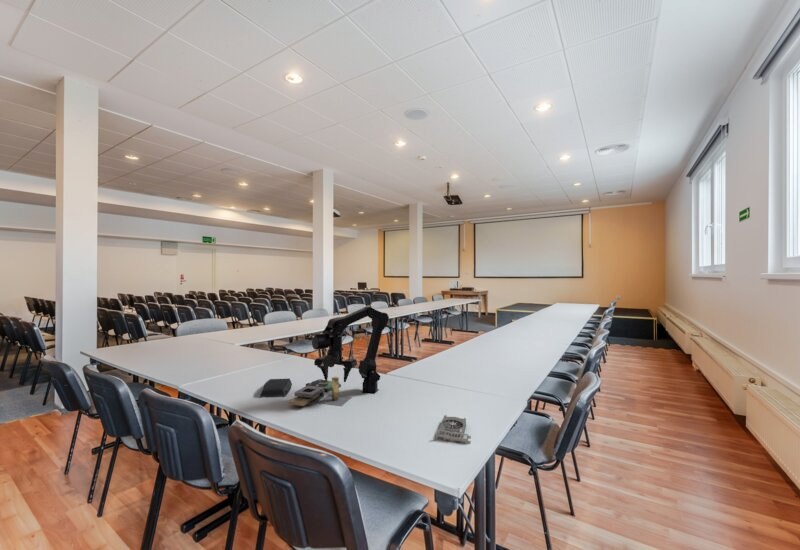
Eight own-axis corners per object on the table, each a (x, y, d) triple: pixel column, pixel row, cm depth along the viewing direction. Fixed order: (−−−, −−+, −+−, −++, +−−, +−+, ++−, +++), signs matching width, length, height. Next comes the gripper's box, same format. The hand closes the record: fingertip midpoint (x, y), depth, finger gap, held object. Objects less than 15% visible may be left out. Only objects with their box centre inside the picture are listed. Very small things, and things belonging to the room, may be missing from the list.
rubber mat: (352, 397, 160) (352, 396, 160) (341, 407, 148) (341, 406, 148) (329, 395, 163) (329, 394, 163) (316, 404, 151) (316, 403, 151)
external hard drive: (257, 398, 159) (257, 389, 159) (267, 385, 178) (267, 377, 178) (286, 397, 161) (286, 388, 161) (293, 384, 180) (293, 377, 180)
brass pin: (339, 399, 156) (339, 377, 156) (336, 401, 154) (336, 379, 154) (333, 398, 157) (333, 376, 157) (330, 400, 154) (330, 378, 154)
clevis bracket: (307, 396, 162) (307, 385, 162) (324, 397, 159) (324, 387, 159) (287, 408, 146) (287, 396, 146) (305, 410, 144) (305, 398, 144)
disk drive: (305, 389, 173) (327, 394, 165) (305, 384, 173) (327, 388, 165) (319, 384, 182) (341, 388, 174) (319, 378, 182) (341, 382, 174)
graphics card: (470, 436, 115) (435, 430, 118) (470, 447, 115) (434, 441, 118) (473, 417, 131) (442, 412, 135) (473, 427, 131) (442, 422, 135)
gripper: (307, 349, 150) (307, 384, 150) (347, 351, 145) (346, 388, 145) (320, 344, 161) (320, 377, 161) (357, 346, 156) (357, 380, 156)
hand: (335, 381), depth 156 cm, fingers open, 9 cm apart
